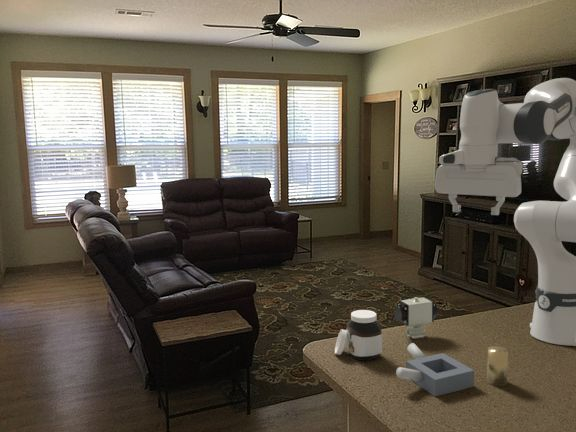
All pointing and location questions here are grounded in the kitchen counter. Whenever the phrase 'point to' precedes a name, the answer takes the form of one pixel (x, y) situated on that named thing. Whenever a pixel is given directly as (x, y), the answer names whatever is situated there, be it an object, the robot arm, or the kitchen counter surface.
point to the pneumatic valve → (416, 315)
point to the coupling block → (436, 372)
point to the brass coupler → (497, 366)
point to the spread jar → (361, 336)
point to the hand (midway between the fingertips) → (475, 213)
